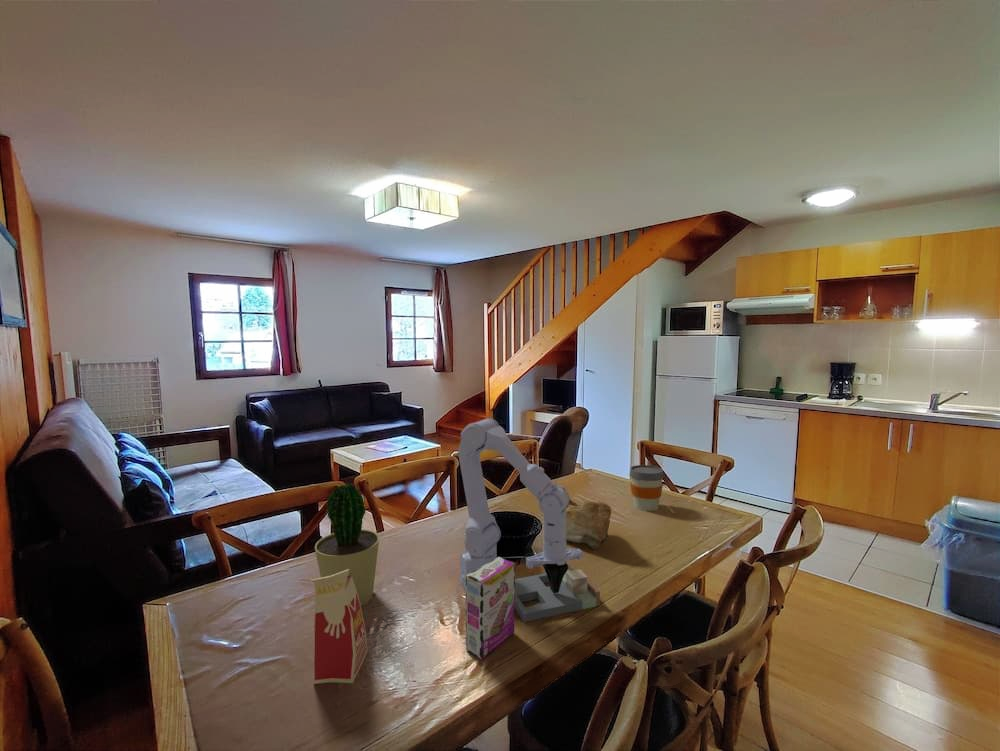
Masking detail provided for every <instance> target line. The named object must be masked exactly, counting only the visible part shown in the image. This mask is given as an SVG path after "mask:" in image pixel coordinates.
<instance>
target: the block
mask: <svg viewBox="0 0 1000 751" xmlns="http://www.w3.org/2000/svg"><path fill="white" fill-rule="evenodd" d="M587 580H588V576H587V575H586V574H585V573H584V572H583V571H582V570H581V569H580V568H579V569H577V570H573V571H568V572H566V588H567V589H568V590H569V592H570V593H571V594H572V595H578V594H582V593H587Z"/></svg>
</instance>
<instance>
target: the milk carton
mask: <svg viewBox="0 0 1000 751" xmlns="http://www.w3.org/2000/svg"><path fill="white" fill-rule="evenodd" d="M348 573H349V569H347V570H345V571H342V572H339V573H337V574H334V575H331V576H327V577H322V578H321V577H318V578H312V579H310V582H312V583H313V584H314V595H315V604H314V622H313V623H314V624H313V685H316V684H317V685H319V684H325V683H326V684H327V683H338V684H339V683H341V684H344V683H345V684H353V683H354V682H355V680H356V677H357V676H358V673H359V671H360V669H361V667H362V665H363V663H364V660H365V657H367V656H366V655H367V653H368V651H369V648H368V640H367V630H366V624H365V621H364V616H363V610H362V606H361V605H360V601H359V598H358V594H357V591H356V587H355V584H354V581H353V577H352V576H349V575H348Z"/></svg>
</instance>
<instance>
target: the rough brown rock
mask: <svg viewBox="0 0 1000 751" xmlns="http://www.w3.org/2000/svg"><path fill="white" fill-rule="evenodd" d="M565 509H566V541H568V542H572V543H576V544H581V543H583V544H586V545H587V546H588V547H589V548H591V549H593V550H598V549H599V548H600V545H601V544H602V543H603V541H604V540H607V539H608V536H609V535H608V532H609V527H610V523H611V520H610V519H611V515H612V507H611V506H610V505H609V504H607V503H605V502H595V501H591V500H590V501H589V500H588V501H587V500H585V501H583V502H582V503H581V505H579V504H577V502H575V501H573V500H572V499H570V498H569V503H568V505H567V506H566V507H565Z"/></svg>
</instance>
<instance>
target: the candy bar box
mask: <svg viewBox="0 0 1000 751" xmlns="http://www.w3.org/2000/svg"><path fill="white" fill-rule="evenodd" d="M515 564H516V563H515V562H513V561H511V560H508V559H505V558H502V557H501V556H497V558H496V559H494V560H492V561H491V562H489V563H487V564H485V565H484V566H482V567H480V568H478V569H476V570H475V571H473V572H471V573H469V574H467V575H466V591H465V650H466V651H467V652H468V653H470V654H472V655H473V656H475V657H476V658H478V659H480V660H483V659H484V658H486V657H487V656H488V655H489V654H490V653H492V652H493V651H494V650H496V648H498V647H499V646H500V645H501V644H502V643H504V642H505V641H506V640H508V639H509V638H510V637H511V636H513V635H514V634H515V608H514V593H515V579H516V578H515V577H516V576H515V575H516V572H515V571H516V570H515V569H516V568H515V567H516V565H515Z"/></svg>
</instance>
